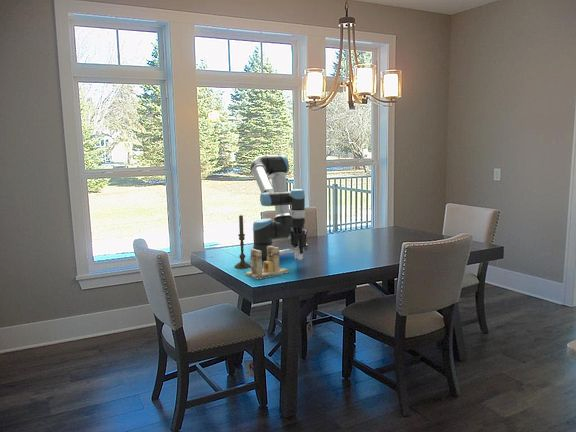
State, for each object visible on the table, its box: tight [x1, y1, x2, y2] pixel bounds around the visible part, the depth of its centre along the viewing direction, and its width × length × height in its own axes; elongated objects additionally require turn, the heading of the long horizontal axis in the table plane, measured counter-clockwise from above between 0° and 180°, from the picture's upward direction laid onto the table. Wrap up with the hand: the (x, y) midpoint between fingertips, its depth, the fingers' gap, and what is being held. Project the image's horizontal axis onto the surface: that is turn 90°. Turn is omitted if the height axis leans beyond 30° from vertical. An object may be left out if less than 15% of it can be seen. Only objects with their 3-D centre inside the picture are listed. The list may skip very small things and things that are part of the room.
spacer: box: [262, 260, 274, 272], centre depth 252 cm, size 5×3×5 cm, turn 39°
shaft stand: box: [245, 245, 290, 280], centre depth 251 cm, size 12×20×14 cm, turn 129°
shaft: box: [270, 243, 311, 257], centre depth 260 cm, size 4×26×4 cm, turn 129°
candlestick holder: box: [234, 214, 251, 269], centre depth 265 cm, size 9×9×30 cm
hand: (298, 258), depth 265 cm, fingers closed on shaft, 2 cm apart
